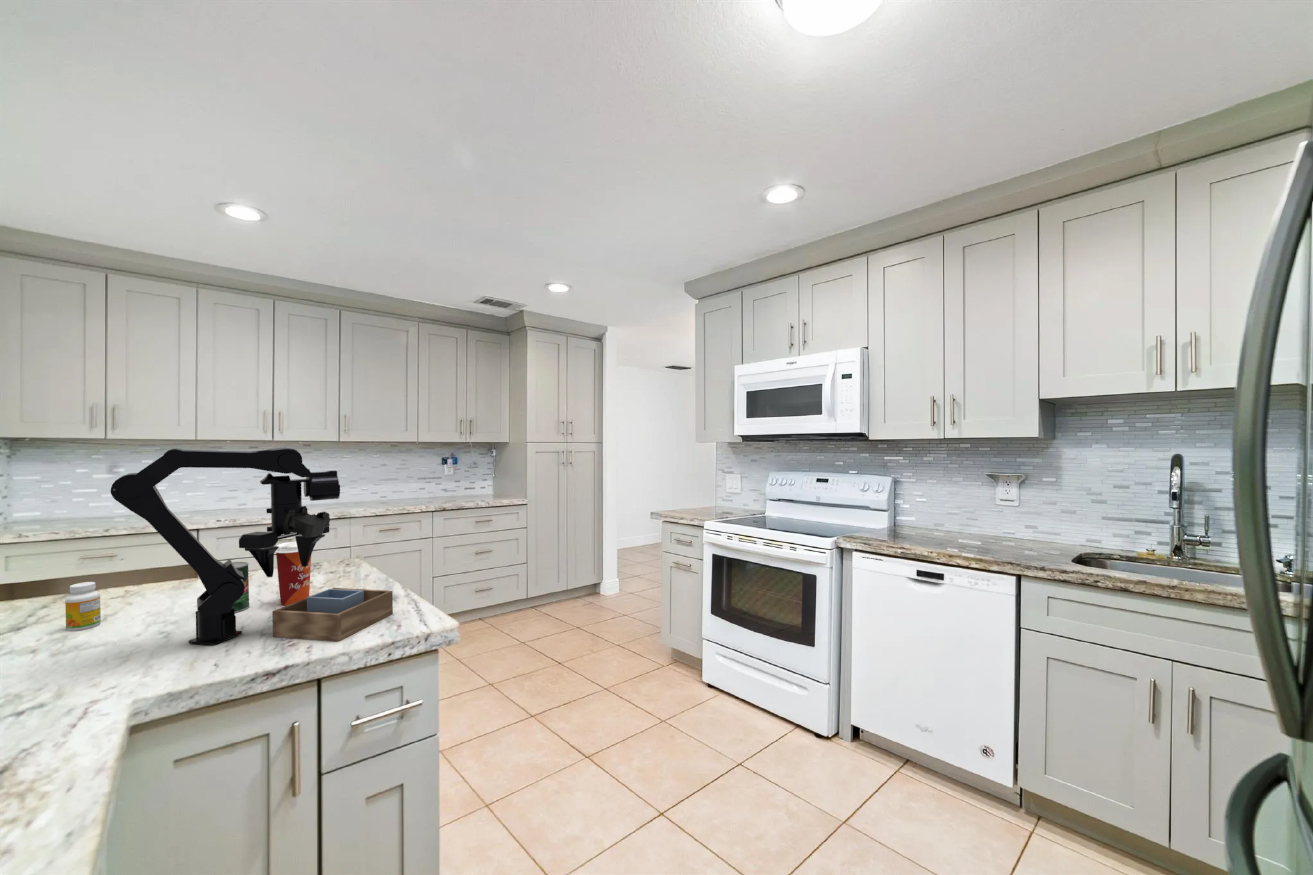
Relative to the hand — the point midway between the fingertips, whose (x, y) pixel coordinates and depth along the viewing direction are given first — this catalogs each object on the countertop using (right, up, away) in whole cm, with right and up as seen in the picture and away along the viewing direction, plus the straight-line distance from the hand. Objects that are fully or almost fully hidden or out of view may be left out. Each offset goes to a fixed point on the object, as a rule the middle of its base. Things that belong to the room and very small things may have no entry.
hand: (287, 571), depth 122 cm
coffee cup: (-9, -12, +16) cm, 22 cm away
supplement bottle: (-46, -13, -1) cm, 47 cm away
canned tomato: (-22, -12, +10) cm, 27 cm away
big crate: (+11, -12, 0) cm, 16 cm away
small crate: (+11, -11, 0) cm, 16 cm away
